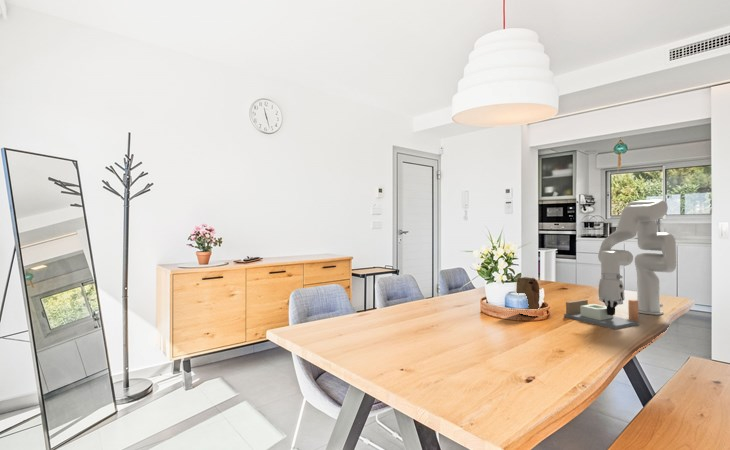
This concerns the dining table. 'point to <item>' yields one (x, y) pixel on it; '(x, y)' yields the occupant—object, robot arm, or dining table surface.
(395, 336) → the dining table surface
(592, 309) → the socket block
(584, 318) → the stop board
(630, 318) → the orange rectangular post
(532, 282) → the block
